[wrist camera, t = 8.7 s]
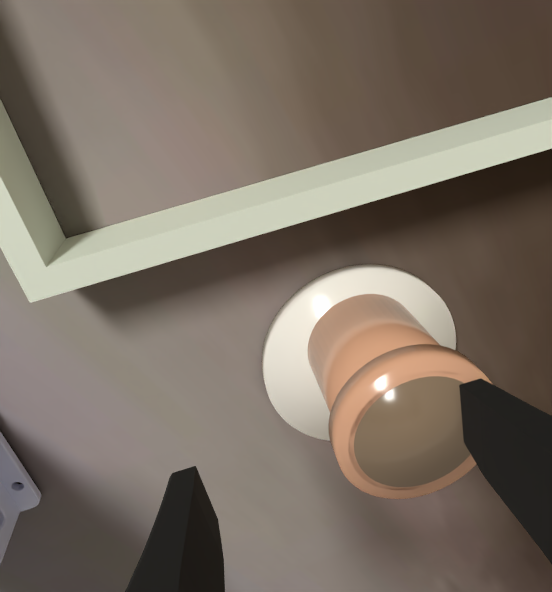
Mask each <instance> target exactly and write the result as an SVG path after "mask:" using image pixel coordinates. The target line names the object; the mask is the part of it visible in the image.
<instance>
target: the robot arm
mask: <svg viewBox="0 0 552 592" xmlns="http://www.w3.org/2000/svg"><path fill="white" fill-rule="evenodd" d="M459 388H460V401H461V413H462V426H463V439H464V443H465V445H466V447H467V449H468V450H469V452H470V454H471V455H472V457H473V459H474V461H475V462H476V464H477V465H478V467H479V469H480V470H481V472H482V473H483V475H484V477H485V478H486V479H487V481H488V482H489V483H490V485H491V486H492V487H493V488H494V490H495V491H496V492H497V494H498V495H499V496H500V497H501V499H502V500H503V501H504V503H505V504H506V505H507V506H508V508H509V509H510V510H511V512H512V513H513V514H514V515H515V517H516V518H517V519H518V521H519V522H520V523H521V524H522V526H523V527H524V528H525V529H526V531H527V532H528V533H529V535H530V536H531V537H532V538H533V540H534V541H535V542H536V544H537V545H538V546H539V547H540V549H541V550H542V551H543V553H544V554H545V555H546V557H547V558H548V560H549V561H550V562H551V564H552V416H551V415H549V414H547V413H545V412H543V411H541V410H539V409H537V408H535V407H533V406H531V405H529V404H528V403H526V402H524V401H522V400H520V399H518V398H516V397H515V396H513V395H511V394H509V393H507V392H505V391H504V390H502V389H500V388H498V387H496V386H495V385H493V384H491V383H489V382H487V381H485V380H483V379H481V378H480V379H477V380H474V381H470V382H467V383H464V384H461V385H459ZM15 482H20V483H22V484H17V483H15ZM40 499H41V493H40V491H39V490H38V488H37V487H36V485H35V483H34V482H33V480H32V479H31V477H30V476H29V474H28V473H27V471H26V470H25V468H24V467H23V465H22V464H21V462H20V461H19V459H18V458H17V456H16V455H15V453H14V452H13V450H12V448H11V447H10V445H9V444H8V442H7V441H6V439H5V438H4V436H3V435H2V433H1V432H0V565H1V562H2V560H3V557H4V554H5V551H6V549H7V546H8V543H9V541H10V538H11V535H12V532H13V530H14V527H15V524H16V522H17V519H18V516H19V513H20V512H22V511H25V510H28V509H31V508H34V507H36V506H37V505H38V504H39V502H40ZM125 592H225V584H224V559H223V551H222V544H221V537H220V530H219V524H218V519H217V516H216V514H215V511H214V509H213V507H212V504H211V502H210V499H209V497H208V495H207V492H206V490H205V487H204V485H203V483H202V480H201V478H200V475H199V473H198V471H197V468H196V466H194V467H191V468H187V469H184V470H181V471H178V472H174V473H172V475H171V476H170V478H169V482H168V485H167V488H166V491H165V494H164V497H163V500H162V503H161V506H160V509H159V512H158V515H157V517H156V520H155V523H154V526H153V528H152V531H151V533H150V536H149V538H148V541H147V543H146V546H145V548H144V551H143V553H142V556H141V558H140V560H139V562H138V565H137V567H136V569H135V571H134V573H133V576H132V578H131V580H130V582H129V585H128V587H127V589H126V591H125Z"/></svg>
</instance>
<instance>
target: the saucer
mask: <svg viewBox="0 0 552 592" xmlns="http://www.w3.org/2000/svg"><path fill="white" fill-rule="evenodd" d="M363 294H379V295H384V296H388V297H390V298H392V299H395V300H396V301H398V302H399V303H401V304H402V305H403V306H404V307H405V308H406V309H407V310H408V311H409V312H410V313H411V314H412V315H413V316H414V317H415V319H416V320H417V321H418V322H419V323H420V324H421V325H422V326H423V327H424V328H425V329H426V330H427V331H428V333H429V334H430V335H431V336H432V337H433V338H434V339H435V340H436V341H437V342H438V343H439V344H440V345H441V346H444V347H448V348H451V349H453V350H455V349H456V333H455V327H454V322H453V319H452V316H451V314H450V312H449V310H448V308H447V306H446V304H445V303H444V302H443V300H442V299H441V298H440V296H439V295H438V294H437V293H436V292H434V291H433V290H432V289H431V288H430V287H429V286H428V285H427V284H426V283H425V282H423V281H422V280H421V279H419V278H418V277H416V276H415V275H413V274H411V273H409V272H407V271H405V270H403V269H399V268H396V267H392V266H387V265H381V264H361V265H352V266H348V267H344V268H339V269H337V270H334V271H331V272H328V273H326V274H324V275H322V276H320V277H318V278H316V279H314V280H313V281H311V282H310V283H308V284H306V285H305V286H303V287H302V288H301V289H300V290H299V291H297V292H296V293H295V294H294V295H293V296H292V297H291V298H290V299H289V300H288V301H287V302H286V303H285V304H284V305H283V306H282V308H281V309H280V311H279V312H278V313H277V315H276V316H275V318H274V320H273V322H272V323H271V325H270V327H269V330H268V332H267V335H266V337H265V341H264V345H263V350H262V373H263V377H264V382H265V386H266V390H267V393H268V396H269V398H270V400H271V403H272V404H273V406H274V408H275V409H276V411H277V412H278V413H279V415H280V416H281V417H282V418H283V419H284V420H285V421H286V422H287V423H288V424H290V425H291V426H292V427H294V428H295V429H297V430H298V431H300V432H302V433H304V434H307V435H309V436H311V437H315V438H318V439H322V440H327V441H330V438H329V432H328V423H329V416H330V412H329V409H328V407H327V405H326V402H325V400H324V398H323V395H322V393H321V391H320V388H319V386H318V383H317V381H316V379H315V376H314V374H313V372H312V369H311V367H310V364H309V360H308V351H307V349H308V342H309V338H310V335H311V333H312V330H313V328H314V327H315V325H316V323H317V322H318V320H319V319H320V318H321V317H322V316H323V315H324V314H325V312H327V311H328V310H329V309H330V308H331V307H333V306H334V305H336V304H337V303H339V302H341V301H343V300H345V299H348V298H350V297H353V296H357V295H363Z"/></svg>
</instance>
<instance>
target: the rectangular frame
mask: <svg viewBox="0 0 552 592" xmlns="http://www.w3.org/2000/svg"><path fill="white" fill-rule="evenodd" d="M548 149H552V97H551V98H548V99H544V100H541V101H537V102H534V103H530V104H527V105H523V106H520V107H517V108H513V109H510V110H506V111H503V112H499V113H496V114H493V115H489V116H486V117H482V118H479V119H475V120H472V121H468V122H465V123H462V124H458V125H455V126H451V127H448V128H444V129H441V130H438V131H434V132H431V133H427V134H424V135H420V136H417V137H413V138H410V139H407V140H403V141H400V142H396V143H393V144H389V145H386V146H382V147H379V148H376V149H372V150H369V151H365V152H362V153H358V154H355V155H352V156H348V157H345V158H341V159H338V160H334V161H331V162H327V163H324V164H321V165H317V166H314V167H310V168H307V169H303V170H300V171H297V172H293V173H290V174H286V175H283V176H279V177H276V178H272V179H269V180H266V181H262V182H259V183H255V184H252V185H248V186H245V187H242V188H238V189H235V190H231V191H228V192H224V193H221V194H217V195H214V196H211V197H207V198H204V199H200V200H197V201H193V202H190V203H187V204H183V205H180V206H176V207H173V208H169V209H166V210H162V211H159V212H156V213H152V214H149V215H145V216H142V217H138V218H135V219H132V220H128V221H125V222H121V223H118V224H114V225H111V226H107V227H104V228H101V229H97V230H94V231H90V232H87V233H83V234H80V235H77V236H73V237H70V238H65V236H64V234H63V232H62V229H61V227H60V225H59V223H58V221H57V219H56V217H55V214H54V212H53V210H52V208H51V206H50V204H49V202H48V200H47V197H46V195H45V193H44V191H43V189H42V187H41V185H40V182H39V180H38V178H37V176H36V174H35V172H34V170H33V168H32V165H31V163H30V161H29V159H28V157H27V155H26V153H25V150H24V148H23V146H22V144H21V142H20V140H19V138H18V136H17V133H16V131H15V129H14V127H13V125H12V123H11V121H10V118H9V116H8V114H7V112H6V110H5V108H4V106H3V104H2V101H1V99H0V248H1V250H2V252H3V253H4V255H5V257H6V259H7V261H8V263H9V265H10V266H11V268H12V270H13V272H14V274H15V276H16V278H17V279H18V281H19V283H20V285H21V287H22V289H23V291H24V292H25V294H26V296H27V298H28V300H29V302H30V303H31V302H34V301H38V300H41V299H45V298H48V297H51V296H55V295H58V294H62V293H65V292H68V291H72V290H75V289H78V288H82V287H85V286H89V285H92V284H95V283H99V282H102V281H105V280H109V279H112V278H116V277H119V276H122V275H126V274H129V273H133V272H136V271H139V270H143V269H146V268H149V267H153V266H156V265H160V264H163V263H166V262H170V261H173V260H176V259H180V258H183V257H187V256H190V255H193V254H197V253H200V252H204V251H207V250H210V249H214V248H217V247H220V246H224V245H227V244H231V243H234V242H237V241H241V240H244V239H247V238H251V237H254V236H258V235H261V234H264V233H268V232H271V231H275V230H278V229H281V228H285V227H288V226H291V225H295V224H298V223H302V222H305V221H308V220H312V219H315V218H318V217H322V216H325V215H329V214H332V213H335V212H339V211H342V210H346V209H349V208H352V207H356V206H359V205H362V204H366V203H369V202H373V201H376V200H379V199H383V198H386V197H389V196H393V195H396V194H400V193H403V192H406V191H410V190H413V189H417V188H420V187H423V186H427V185H430V184H433V183H437V182H440V181H444V180H447V179H450V178H454V177H457V176H460V175H464V174H467V173H471V172H474V171H477V170H481V169H484V168H488V167H491V166H494V165H498V164H501V163H504V162H508V161H511V160H515V159H518V158H521V157H525V156H528V155H531V154H535V153H538V152H542V151H545V150H548Z"/></svg>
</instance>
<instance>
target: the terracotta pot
mask: <svg viewBox="0 0 552 592" xmlns="http://www.w3.org/2000/svg"><path fill="white" fill-rule="evenodd" d="M307 351H308V360H309V364H310V367H311V369H312V372H313V374H314V376H315V379H316V381H317V383H318V386H319V388H320V391H321V393H322V395H323V398H324V400H325V402H326V405H327V407H328V409H329V412H330V416H329V423H328V432H329V438H330V442H331V445H332V448H333V450H334V453H335V455H336V458H337V460H338V463H339V466H340V468H341V470H342V472H343V473H344V475H345V476H346V478H347V479H348V480H349V481H350V482H351V483H352V484H353V485H354V486H356V487H357V488H358V489H360V490H362V491H363V492H366V493H368V494H370V495H373V496H377V497H381V498H388V499H406V498H414V497H419V496H423V495H426V494H430V493H432V492H435V491H438V490H440V489H442V488H444V487H446V486H448V485H450V484H452V483H453V482H455V481H457V480H458V479H460V478H461V477H462V476H464V475H465V474H466V473H468V472H469V471H470V470H471V469H472V468H473V467H474V466H475V465H476V462H475V461H474V459H473V457H472V455H471V454H470V452H469V450H468V449H467V447H466V445H465V443H464V439H463V426H462V413H461V401H460V388H459V385H461V384H464V383H467V382H470V381H474V380H477V379H480V378H481V379H483V380H485V381H487V382H489V383H491V381H490V380H489V379H488V378H487V377H486V376H485V375H484V374H483V373H482V372H481V371H480V370H479V369H478V368H477V367H476V366H475V364H474V363H473V362H472V361H470V360H469V359H468V358H467V357H466V356H465V355H463V354H461V353H460V352H458V351H456V350H453V349H451V348H448V347H444V346H441V345H440V344H439V343H438V342H437V341H436V340H435V339H434V338H433V337H432V336H431V335H430V334H429V333H428V331H427V330H426V329H425V328H424V327H423V326H422V325H421V324H420V323H419V322H418V321H417V320H416V319H415V317H414V316H413V315H412V314H411V313H410V312H409V311H408V310H407V309H406V308H405V307H404V306H403V305H402V304H401V303H399V302H398V301H396V300H395V299H392V298H390V297H388V296H384V295H379V294H363V295H357V296H353V297H350V298H348V299H345V300H343V301H341V302H339V303H337V304H336V305H334V306H333V307H331V308H330V309H329V310H328V311H327V312H325V314H324V315H323V316H322V317H321V318H320V319H319V320H318V322H317V323H316V325H315V327H314V328H313V330H312V333H311V335H310V338H309V342H308V349H307ZM491 384H492V383H491Z"/></svg>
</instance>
